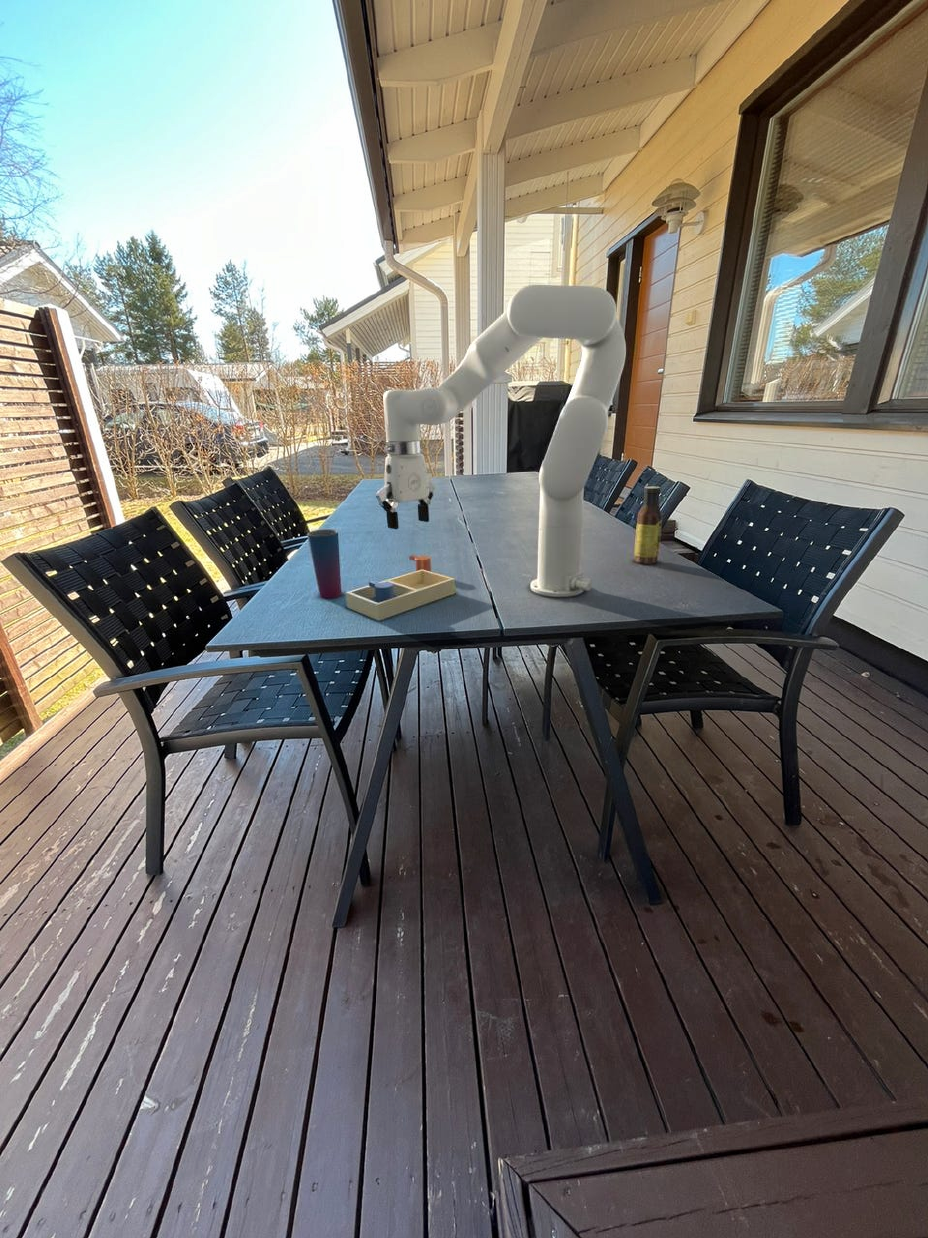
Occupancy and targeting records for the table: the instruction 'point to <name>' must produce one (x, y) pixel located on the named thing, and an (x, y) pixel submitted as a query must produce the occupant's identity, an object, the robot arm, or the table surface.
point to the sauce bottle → (648, 528)
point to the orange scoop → (422, 562)
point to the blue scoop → (382, 590)
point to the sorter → (402, 594)
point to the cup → (326, 561)
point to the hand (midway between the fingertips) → (408, 524)
